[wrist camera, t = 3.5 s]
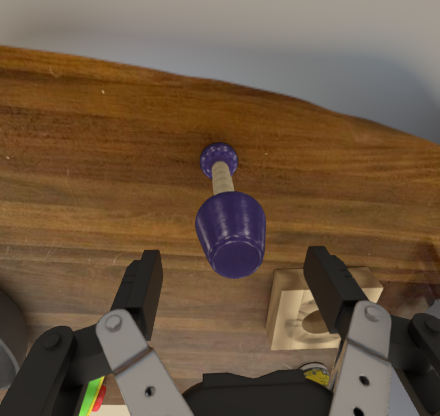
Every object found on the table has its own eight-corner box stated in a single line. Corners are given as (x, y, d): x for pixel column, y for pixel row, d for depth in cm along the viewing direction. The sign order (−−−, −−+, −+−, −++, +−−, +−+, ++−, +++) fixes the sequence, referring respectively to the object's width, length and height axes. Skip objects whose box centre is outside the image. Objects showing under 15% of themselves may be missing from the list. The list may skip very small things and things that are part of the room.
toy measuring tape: (69, 388, 51) (52, 428, 46) (92, 337, 43) (74, 378, 37) (100, 393, 53) (87, 433, 47) (128, 345, 45) (116, 386, 39)
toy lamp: (203, 133, 26) (198, 221, 12) (246, 141, 27) (291, 233, 12) (197, 175, 28) (186, 290, 14) (236, 181, 29) (264, 298, 15)
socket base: (367, 266, 37) (383, 287, 33) (343, 324, 44) (354, 347, 41) (274, 269, 36) (281, 290, 33) (265, 327, 44) (270, 350, 40)
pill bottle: (331, 364, 51) (360, 434, 41) (316, 379, 54) (339, 447, 44) (305, 360, 49) (328, 431, 40) (291, 375, 52) (309, 445, 43)
